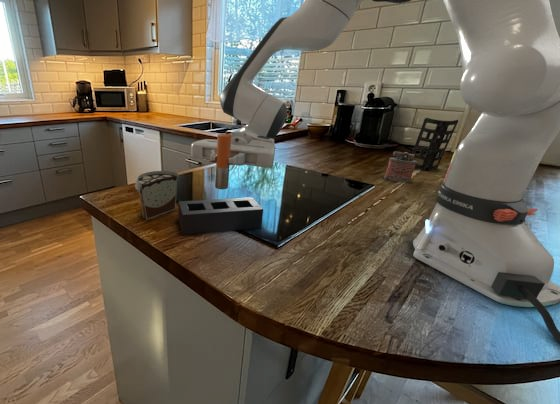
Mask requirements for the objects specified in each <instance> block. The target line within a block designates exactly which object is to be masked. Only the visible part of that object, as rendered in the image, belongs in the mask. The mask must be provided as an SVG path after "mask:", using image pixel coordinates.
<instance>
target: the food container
mask: <svg viewBox="0 0 560 404" xmlns="http://www.w3.org/2000/svg"><path fill="white" fill-rule="evenodd" d="M179 181H180V176H179V173H178V172H176V171H170V170H153V171H147V172H144V173H141V174H139V175H137V177H136V180H135V184H134V185H135V186H134V188H135V190H136V191H138V196H139V200H140V208H141V213H142V218H143V219H145V220H146V221H148V220H150V219H151V220H152V219H153V218H156V217H159V216H162V215H165V214H167V213H170V212H173V211H176V208H177V195H178V194H177V193H178V182H179Z"/></svg>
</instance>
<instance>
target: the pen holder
mask: <svg viewBox="0 0 560 404" xmlns="http://www.w3.org/2000/svg"><path fill="white" fill-rule="evenodd" d="M177 212H178V213H177V214H178V219H177V220H178V223H179V227H180V230H181V233H182V236H183V235H194V234H195V235H196V234H206V233H219V232H231V231H233V232H234V231H245V230H259V229H262V224H263V215H264V208H263V207H262V206H261V205H260V204H259V203H258V202H257V201H256V200H255V198H254V197H253V196H249V197H234V198H217V199H216V198H215V199H214V198H213V199H201V200H200V199H199V200H198V199H197V200H183V201H180V200H179V201H178V202H177Z"/></svg>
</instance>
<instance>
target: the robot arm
mask: <svg viewBox="0 0 560 404" xmlns="http://www.w3.org/2000/svg"><path fill="white" fill-rule="evenodd" d="M364 1H365V0H304V2H303V3H302V4H301V5H300V7H298V8H297V10H296V11H294V12H293V13H292V14H290V15H289V16H286V17H285V16H284V17H281V18H278V20H277V21H276V22H275V23H274V24H273V25H272V26H271V27H270V28H269V29H268V31H267V32H266V33H265V34H264V36H263V37H262V39H261V40H260V41H259V42H258V44H257V45H256V47H255V48H254V49H253V50H252V52H251V53H250V54H249V56H248V57H247V59H246V60H245V62H244V63H243V64H242V66H241V67H240V68H239V70H238V71H237V72H236V73H235V74H234V76H233V77H231V79H230V80H229V82H227V83H226V85H225V86H224V88H223V89H222V91H221V93H220V96H219V103H220V107H221V110H222V112H223V113H224V114H226V115H228V116H230V117H232V118H234V119H237V120H238V121H240V122H242V124H245V125H244V126H242V127H240V128H238V129H236V130H234V131H232V132H230V133H229V134H230V135H231V150H230V157H229V158H228V161H229V162H228V165H230V166H241V167H242V166H250V167H258V168H265V169H269V168H270V169H271V168H273V166H274V161H275V156H276V155H275V154H276V145H275V138H276V137H277V136H278V135H279V133H280V132H281V130H282V129H283V127H284V125H285V124H286V121H287V118H288V109H287V105H286V103H285V102H284V101H282V100H281V99H279V98H278V97H276V96H274V95H273V94H270V93H268V92H267V91H265V90H263V89H262V88H260V87H259V86H257V85H255V84H254V82H253V81H254V79H255V78H256V77H257V76H258V74H259V73H260V71H262V69H263V68H264V67H265V65H266V64H267V63H268V61H269V60H270V58H271V57H273V55H274V54H276V53H278V52H281V51H288V50H289V51H299V52H301V51H302V52H316V51H321V50H324V49H326V48H328V47H330V46H331V45H332V44H334V43H335V42H336V40H337V39H338V38H339V37H340V35H341V34H342V33H343V31H344V30H345V28H346V27H347V25H349V22H350V21H351V19H352V18H353V16H354V15H355V13H356V11H357V10H358V9H359V7H360V5H361V4H362V3H363V2H364ZM371 1H372V2H376V3H381V2H382V3H384V2H386V3H391V4H405V3H408V2H411V1H412V0H371ZM442 2H443V4H444V7H445V9H446V11H447V15H448V16H449V19H450V21H451V25H452V27H453V30H454V32H455V34H456V37H457V41H458V46H459V51H460V60H461V68H462V74H463V75H462V78H461V80H460V86H459V88H460V95H461V98H462V100H463V102H464V103H465V104H466V105H467V106H469V108H471V109H473V110H475V111H477V112H479V113H480V115H479V117H478V119H477V120H476V122H475V124H474V125H473V126H472V128H471V129H470V131H469V132H468V134H467V135H466V136H465V138H463V139H462V140H461V142H460V143H459V145H458V146H457V148H456V149H457V151H456V154H455V156H454V159H453V162H452V165H451V167H450V170H449V173H448V176H447V178H446V181H445V182H444V181H443V182H444V183H443V182H442V183H441V185H440V187H439V189H438V192H437V193H436V197H435V205H434V208H433V210H432V211H431V214H430V216H429V217H428V219H425V225H424V226H423V228H422V229H421V230H420V232H419V233H418V234H417V236H415V238H414V239H413V241H412V246H413V248H414V251H413V254H412V256H413V257H414V258H415V259H416V260H419V261H420V262H422V263H424V264H426V265H427V266H429V267H432V268H433V269H435V270H436V271H439V272H441V273H443V274H444V275H446V276H448V277H450V278H452V279H454V280H456V281H458V282H459V283H461V284H464V285H465V286H467V287H468V288H470V289H473V290H474V291H476V292H478V293H479V294H481V295H484V296H485V297H487V298H489V299H491V300H492V301H495V302H496V303H500V304H503V305H507V306H511V307H520V308H535V309H536V310H537V312H538V313H539V314H540V316H541V318H542V319H543V322H544V324H545V326H546V328H547V330H548V332H549V333H550V334H551V336H552V337H553V338H554V340H556V342H558V343H559V344H560V330H559V329H558V327H557V326H556V324H555V321H554V319H553V317H552V315H551V313H550V312H549V311H548V310H547V308H546V307H548V306H552V305H556V304H558V303H560V285H558V284H556V283H555V282H553V281H551V279H552V276H553V273H554V268H555V260H554V257H553V255H552V254H551V253H550V252H549V250H547V249H546V247H545V246H544V245H543V244H542V243H541V241H539V239H538V238H537V237H536V235H535V234H534V233H533V232H532V231H531V230H530V228H529V227H528V226H527V225H526V223H525V222H526V218H527V216H534V215H536V213H535V212H537V211H538V210H539V209H538V208H527V207H526V205H525V199H524V198H523V197H524V195H525V193H526V191H527V189H528V187H529V185H530V182H531V181H532V179H533V177H534V175H535V173H536V170H537V169H538V167H539V164H540V162H541V161H542V159H543V157H544V155H545V154H546V152H547V150H548V149H549V148H550V146H551V145H552V143H553V141H554V140H555V139H556V137H557V136H558V134H559V133H560V36H559V32H558V30H557V26H556V24H555V20H554V16H553V13H552V12H553V11H552V7H551V3H550V0H442ZM190 147H191V148H190V155H191V157H192V158H194V159H201V160H208V161H209V162H210V163H214V164H216V157H217V139H210V138H209V139H208V138H206V139H200V140H197V141H193V142H192V143H191V145H190Z"/></svg>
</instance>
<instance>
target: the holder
mask: <svg viewBox="0 0 560 404" xmlns="http://www.w3.org/2000/svg"><path fill="white" fill-rule="evenodd" d="M458 123H459V119H454V120H441V119H434V118H430V117H425V118H424V119H423V122H422V125H421V127H420V130H419V133H418V136H417V137H416V138H417V139H416V141H415V144H414V147H413V149H412V152H411V154H414V158H413V159H419V160H422V162H421V163H420V162H417V163H416V164H415V167H414V168H416V169H421V171H428V172H429V171H431V170H436V169H439V165H440V163H441V161H442V159H443V156H444V154H445V151H446V149H447V147H448V145H449V144H450V140H452V139H451V138H452V136H453V134H454V132H455V130H456V127H457V125H458ZM427 124H432V125H435V128H434V129H431V128H426V127H427ZM449 126H453V127H452V129H451V130H448V128H449ZM424 133H426V135H425V137H423V134H424ZM431 134H432V136H431ZM430 137H431V138H430ZM421 141H422V142H424V143H429V144H428V146H427V147H425V146H421V145H420V143H421ZM443 144H445V145H444V147H442V148H441V146H442V145H443ZM417 150H419V154H416V153H417ZM424 153H425V155H424ZM436 161H437V163H436V164H434V163H435V162H436Z"/></svg>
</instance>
